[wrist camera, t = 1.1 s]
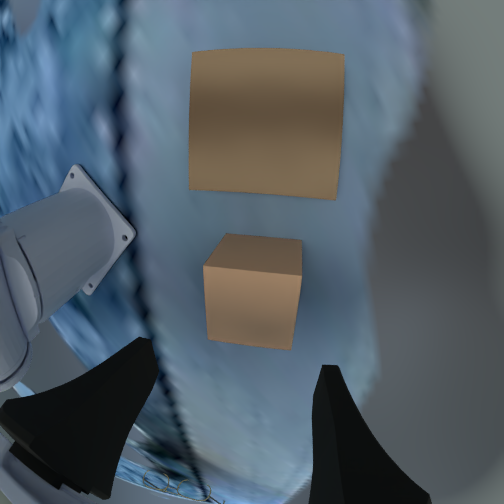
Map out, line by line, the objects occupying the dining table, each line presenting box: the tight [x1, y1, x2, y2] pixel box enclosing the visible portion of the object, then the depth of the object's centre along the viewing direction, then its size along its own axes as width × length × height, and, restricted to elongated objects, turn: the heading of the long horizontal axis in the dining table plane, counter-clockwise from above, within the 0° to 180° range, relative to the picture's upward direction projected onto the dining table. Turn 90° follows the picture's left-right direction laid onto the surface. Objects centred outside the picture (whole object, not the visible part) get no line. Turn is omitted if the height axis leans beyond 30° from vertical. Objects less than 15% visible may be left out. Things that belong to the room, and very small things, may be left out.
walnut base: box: [189, 48, 344, 200], centre depth 14 cm, size 8×8×3 cm
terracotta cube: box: [203, 233, 302, 350], centre depth 17 cm, size 5×5×5 cm
